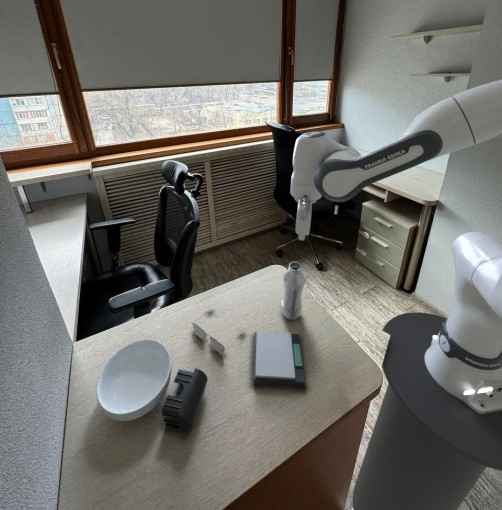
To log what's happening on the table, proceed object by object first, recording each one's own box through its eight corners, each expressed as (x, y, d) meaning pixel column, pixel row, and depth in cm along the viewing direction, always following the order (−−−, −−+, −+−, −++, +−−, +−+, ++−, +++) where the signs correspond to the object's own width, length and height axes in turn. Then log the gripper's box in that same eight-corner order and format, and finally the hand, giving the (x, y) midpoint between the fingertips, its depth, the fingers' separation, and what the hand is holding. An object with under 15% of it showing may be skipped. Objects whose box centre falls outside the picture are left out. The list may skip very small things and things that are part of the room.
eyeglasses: (191, 330, 82) (191, 320, 81) (210, 314, 88) (210, 304, 87) (225, 358, 74) (225, 347, 73) (243, 338, 81) (243, 328, 79)
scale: (298, 338, 80) (299, 331, 79) (304, 387, 68) (305, 380, 67) (255, 336, 80) (255, 329, 79) (253, 384, 68) (253, 377, 67)
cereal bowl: (169, 425, 61) (165, 407, 58) (90, 439, 58) (83, 420, 56) (177, 351, 76) (174, 334, 73) (115, 360, 74) (110, 342, 71)
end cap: (193, 437, 59) (191, 419, 56) (163, 429, 60) (159, 411, 57) (208, 387, 68) (207, 370, 65) (182, 381, 69) (180, 364, 66)
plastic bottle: (279, 305, 91) (282, 258, 83) (299, 305, 91) (304, 258, 83) (281, 322, 85) (285, 273, 77) (303, 322, 85) (308, 273, 77)
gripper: (318, 207, 66) (312, 253, 71) (317, 176, 84) (313, 214, 90) (292, 204, 67) (288, 249, 72) (297, 174, 85) (294, 211, 91)
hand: (302, 229), depth 81 cm, fingers open, 8 cm apart
